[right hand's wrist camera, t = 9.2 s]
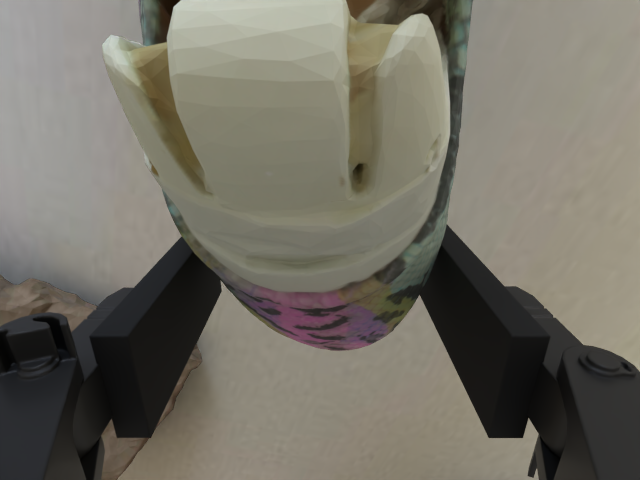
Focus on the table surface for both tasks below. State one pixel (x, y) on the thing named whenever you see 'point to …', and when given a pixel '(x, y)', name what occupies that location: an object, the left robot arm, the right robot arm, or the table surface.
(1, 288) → the stone
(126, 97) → the ballet flat
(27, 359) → the right robot arm
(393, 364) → the table surface
